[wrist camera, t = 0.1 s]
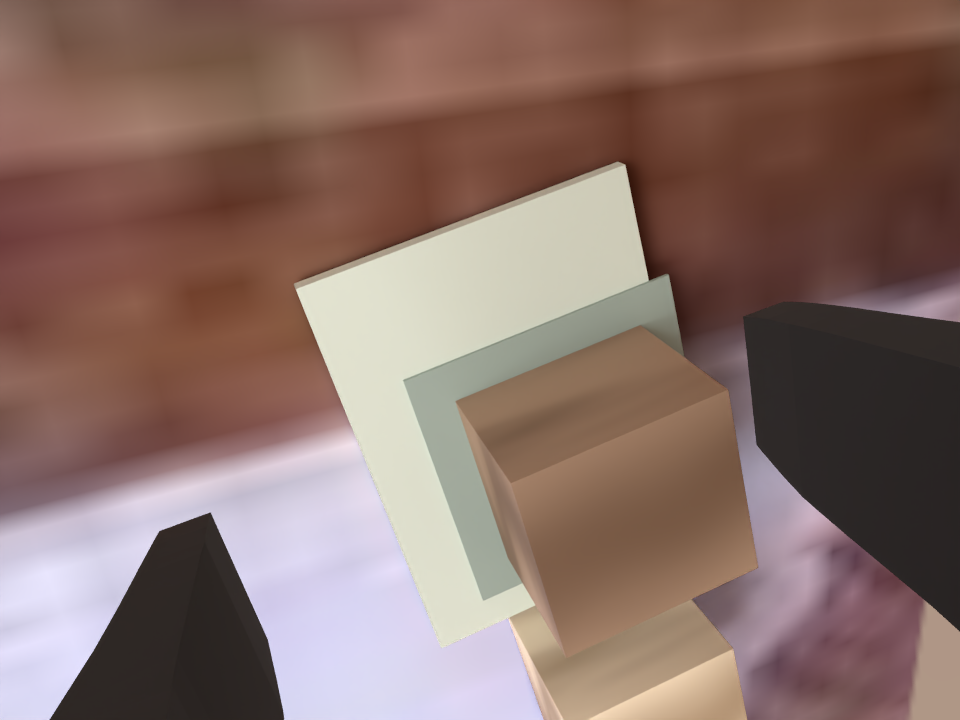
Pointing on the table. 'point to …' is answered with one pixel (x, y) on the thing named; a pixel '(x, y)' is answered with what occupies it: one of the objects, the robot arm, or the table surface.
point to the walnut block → (613, 484)
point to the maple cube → (635, 670)
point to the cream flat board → (474, 362)
